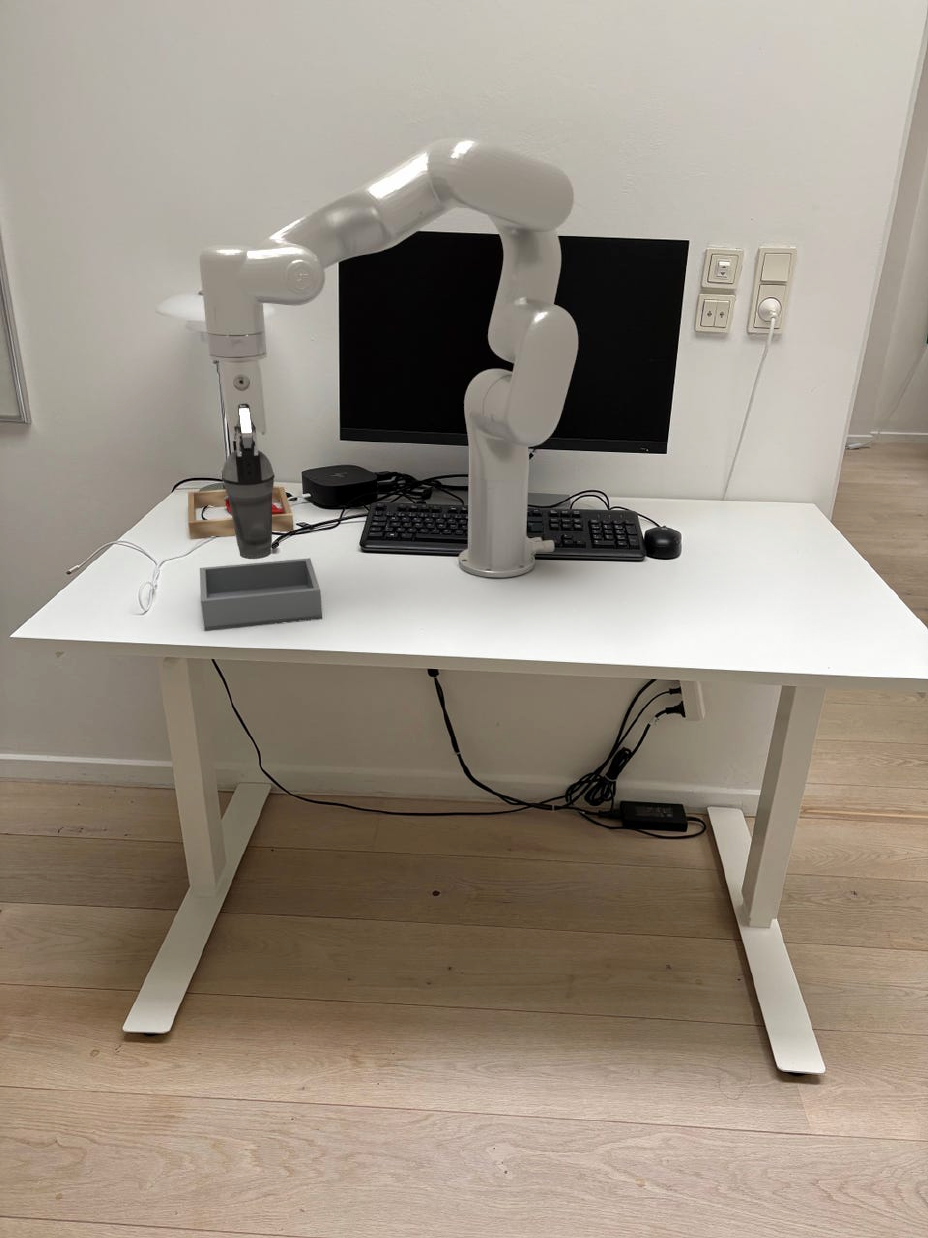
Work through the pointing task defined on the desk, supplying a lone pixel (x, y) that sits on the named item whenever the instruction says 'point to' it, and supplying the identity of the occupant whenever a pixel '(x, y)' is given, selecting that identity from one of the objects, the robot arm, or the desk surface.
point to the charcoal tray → (259, 594)
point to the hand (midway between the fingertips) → (248, 474)
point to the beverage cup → (250, 508)
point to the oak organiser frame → (226, 525)
